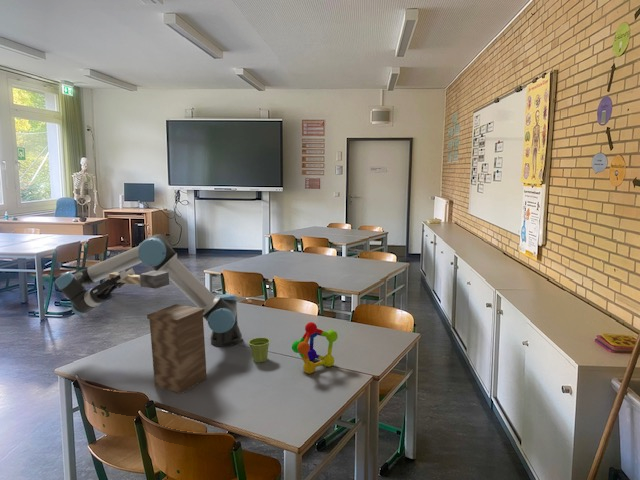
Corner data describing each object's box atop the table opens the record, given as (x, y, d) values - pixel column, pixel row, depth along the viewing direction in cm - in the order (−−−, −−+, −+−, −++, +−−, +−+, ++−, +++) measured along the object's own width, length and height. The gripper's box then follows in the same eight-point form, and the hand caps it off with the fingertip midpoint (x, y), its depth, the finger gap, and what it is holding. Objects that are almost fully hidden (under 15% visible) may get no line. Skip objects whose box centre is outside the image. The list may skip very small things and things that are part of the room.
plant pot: (245, 363, 199) (244, 343, 198) (255, 354, 208) (254, 336, 207) (264, 365, 196) (263, 346, 195) (274, 357, 205) (273, 338, 204)
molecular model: (304, 379, 181) (302, 329, 180) (280, 371, 192) (277, 324, 191) (341, 365, 196) (339, 318, 194) (316, 357, 207) (314, 314, 205)
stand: (208, 377, 186) (204, 308, 181) (182, 394, 173) (177, 319, 168) (180, 371, 192) (175, 304, 188) (152, 386, 179) (147, 314, 175)
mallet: (169, 284, 182) (168, 272, 182) (156, 288, 176) (155, 275, 175) (119, 278, 195) (118, 266, 194) (105, 282, 188) (104, 270, 188)
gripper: (117, 297, 204) (148, 276, 193) (84, 308, 190) (116, 285, 179) (110, 282, 205) (141, 260, 194) (77, 291, 190) (108, 267, 180)
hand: (129, 272), depth 186 cm, fingers closed on mallet, 3 cm apart
